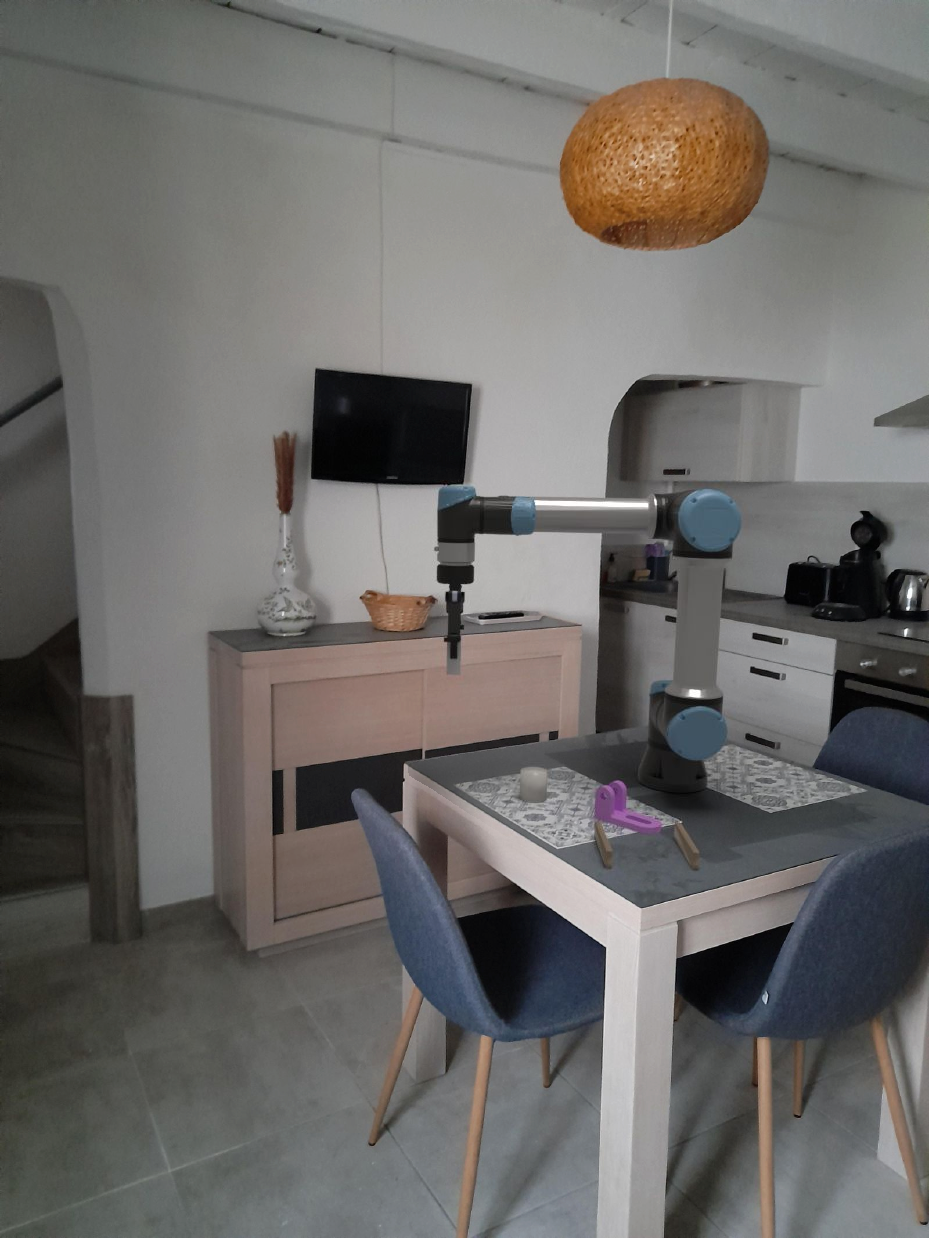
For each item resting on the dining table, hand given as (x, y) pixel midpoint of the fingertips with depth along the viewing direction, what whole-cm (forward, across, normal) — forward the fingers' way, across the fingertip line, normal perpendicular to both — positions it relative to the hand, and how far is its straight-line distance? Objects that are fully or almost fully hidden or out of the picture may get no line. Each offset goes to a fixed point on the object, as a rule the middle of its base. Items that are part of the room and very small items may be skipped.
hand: (453, 667), depth 180 cm
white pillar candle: (+28, -1, +17) cm, 33 cm away
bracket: (+28, +12, +35) cm, 47 cm away
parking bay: (+28, +26, +35) cm, 52 cm away
